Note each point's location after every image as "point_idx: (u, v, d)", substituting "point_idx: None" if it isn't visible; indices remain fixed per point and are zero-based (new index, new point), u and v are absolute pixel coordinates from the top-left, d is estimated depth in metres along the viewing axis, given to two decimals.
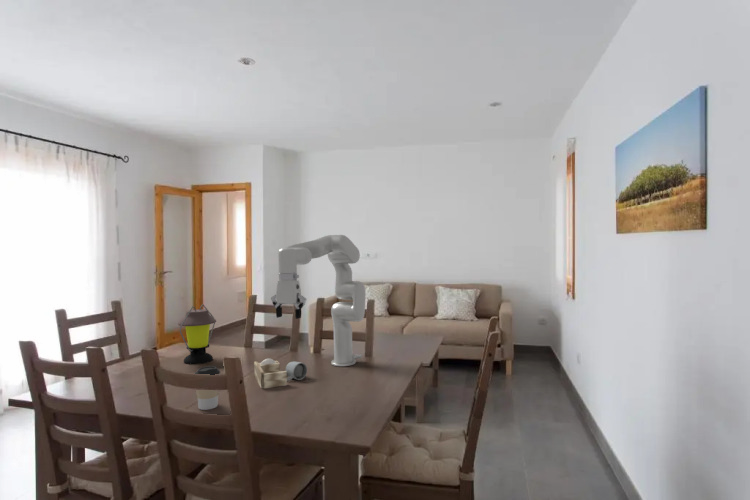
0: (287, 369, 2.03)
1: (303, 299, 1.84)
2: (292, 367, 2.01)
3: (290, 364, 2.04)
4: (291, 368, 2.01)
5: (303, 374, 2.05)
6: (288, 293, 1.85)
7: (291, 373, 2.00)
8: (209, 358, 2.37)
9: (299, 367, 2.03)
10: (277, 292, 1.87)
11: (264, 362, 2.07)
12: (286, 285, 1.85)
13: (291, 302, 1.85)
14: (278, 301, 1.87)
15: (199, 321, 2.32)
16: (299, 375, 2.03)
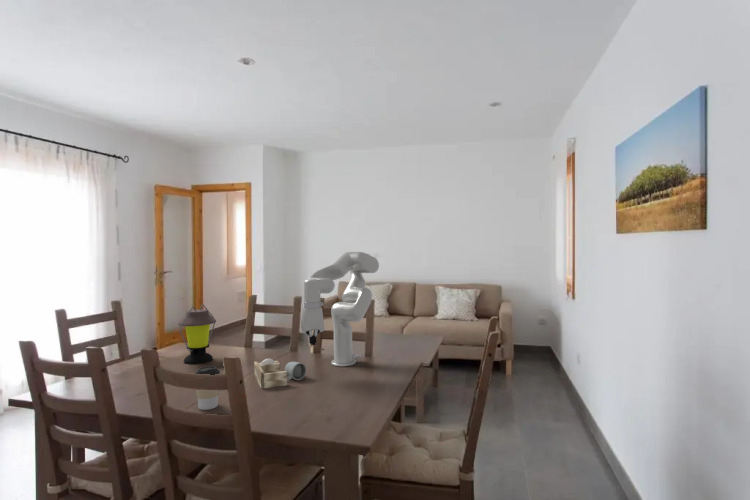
0: (286, 369, 2.03)
1: (322, 329, 2.08)
2: (291, 367, 2.01)
3: (289, 365, 2.03)
4: (290, 368, 2.01)
5: (302, 374, 2.04)
6: (317, 319, 2.05)
7: (290, 373, 2.00)
8: (209, 358, 2.37)
9: (298, 367, 2.03)
10: (305, 320, 2.03)
11: (264, 362, 2.07)
12: (315, 312, 2.05)
13: (320, 327, 2.06)
14: (306, 328, 2.03)
15: (199, 321, 2.32)
16: (298, 375, 2.03)
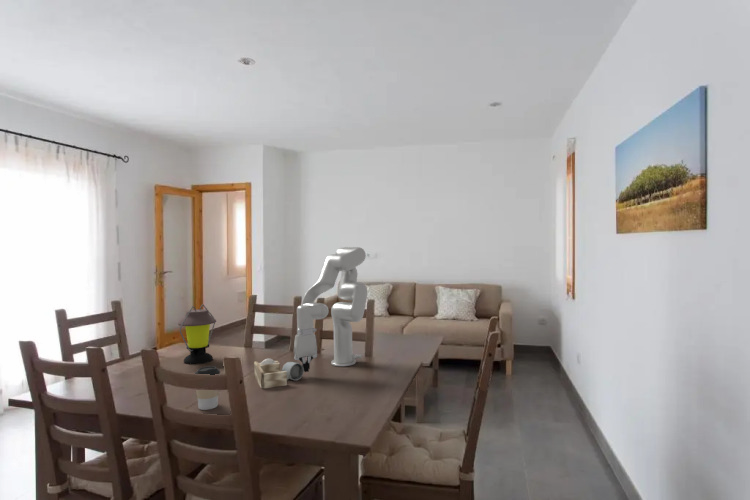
0: (283, 369, 2.02)
1: (316, 355, 2.07)
2: (289, 367, 2.00)
3: (286, 365, 2.03)
4: (287, 368, 2.00)
5: (300, 375, 2.04)
6: (310, 346, 2.04)
7: (287, 374, 1.99)
8: (209, 358, 2.37)
9: (296, 367, 2.02)
10: (298, 347, 2.02)
11: (264, 362, 2.07)
12: (308, 339, 2.04)
13: (313, 354, 2.05)
14: (299, 355, 2.02)
15: (199, 321, 2.32)
16: (295, 376, 2.02)
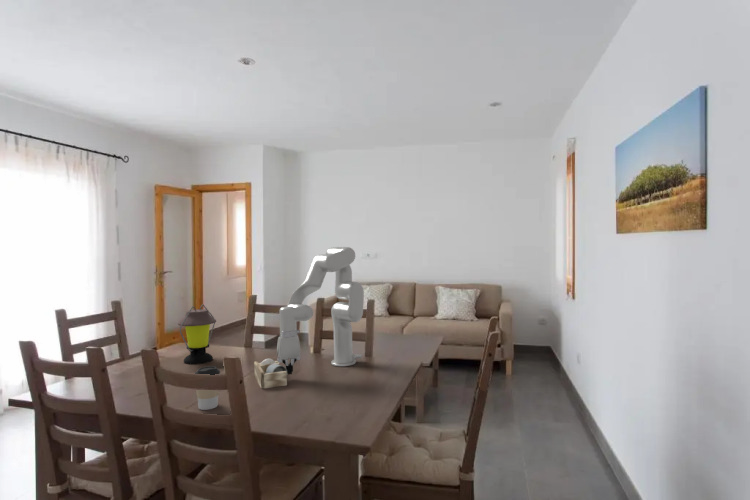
0: (267, 372, 1.99)
1: (299, 358, 2.04)
2: (271, 369, 1.97)
3: (270, 367, 2.00)
4: (270, 371, 1.97)
5: None
6: (293, 348, 2.01)
7: None
8: (209, 358, 2.37)
9: (279, 370, 1.99)
10: (281, 349, 1.99)
11: (264, 362, 2.07)
12: (291, 341, 2.01)
13: (296, 356, 2.02)
14: (282, 357, 1.99)
15: (199, 321, 2.32)
16: None
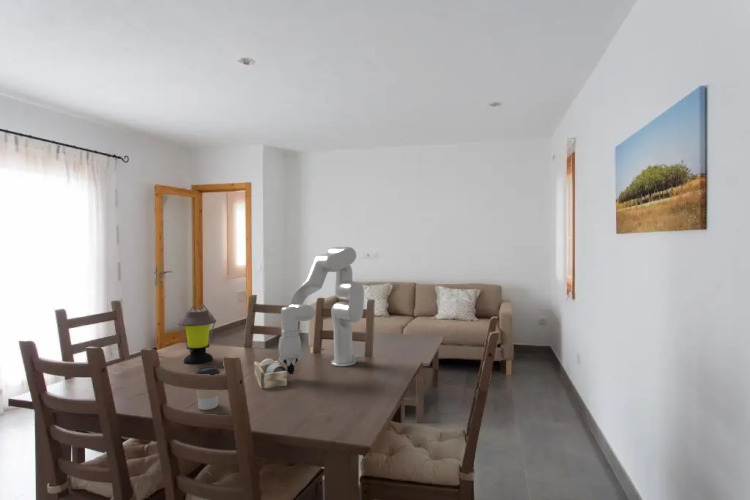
0: (267, 372, 1.99)
1: (301, 358, 2.04)
2: (272, 369, 1.97)
3: (270, 367, 2.00)
4: (270, 371, 1.97)
5: None
6: (295, 348, 2.01)
7: None
8: (209, 358, 2.37)
9: (279, 370, 1.99)
10: (282, 349, 1.99)
11: (264, 362, 2.07)
12: (293, 341, 2.01)
13: (297, 356, 2.02)
14: (283, 357, 2.00)
15: (199, 321, 2.32)
16: None
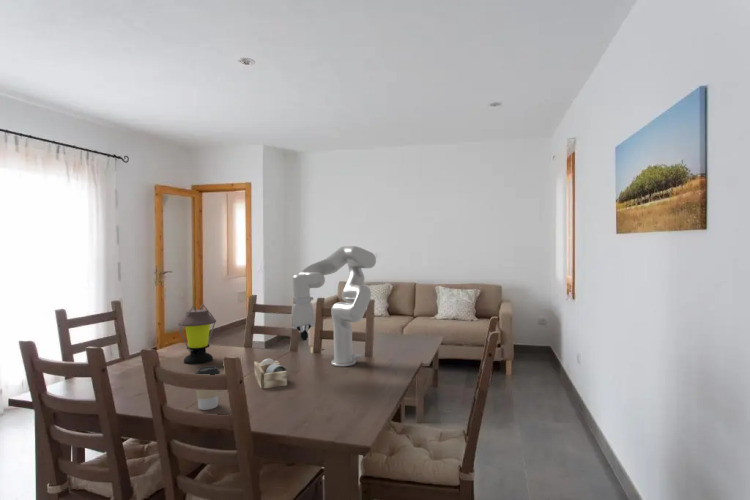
0: (267, 372, 1.99)
1: (313, 324, 2.07)
2: (272, 369, 1.97)
3: (270, 367, 2.00)
4: (270, 371, 1.97)
5: None
6: (308, 315, 2.04)
7: None
8: (209, 358, 2.37)
9: (279, 370, 1.99)
10: (295, 316, 2.02)
11: (264, 362, 2.07)
12: (305, 308, 2.03)
13: (310, 322, 2.05)
14: (296, 324, 2.02)
15: (199, 321, 2.32)
16: None
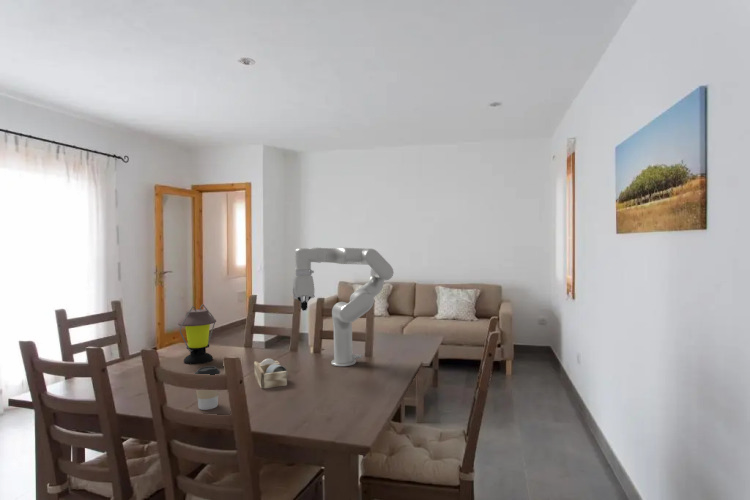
0: (267, 372, 1.99)
1: (313, 296, 2.21)
2: (272, 370, 1.97)
3: (270, 367, 2.00)
4: (270, 371, 1.97)
5: None
6: (308, 286, 2.18)
7: None
8: (209, 358, 2.37)
9: (279, 370, 1.99)
10: (296, 286, 2.16)
11: (264, 362, 2.07)
12: (306, 279, 2.18)
13: (310, 294, 2.19)
14: (297, 294, 2.16)
15: (199, 321, 2.32)
16: None
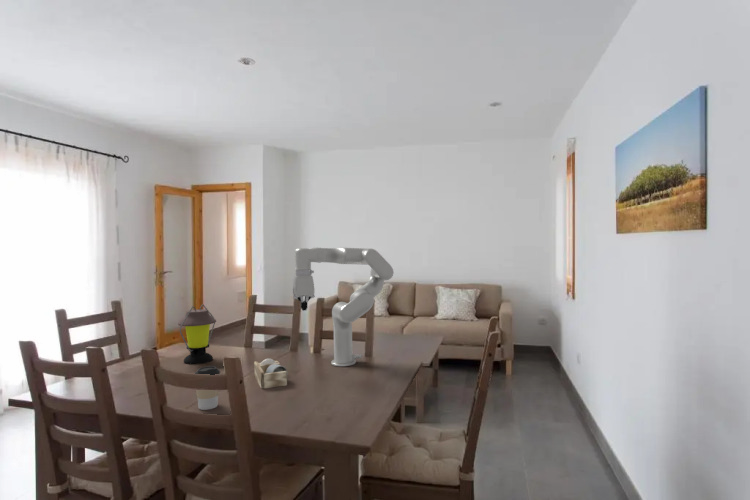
0: (267, 372, 1.99)
1: (313, 296, 2.21)
2: (272, 370, 1.97)
3: (270, 367, 2.00)
4: (270, 371, 1.97)
5: None
6: (308, 286, 2.18)
7: None
8: (209, 358, 2.37)
9: (279, 370, 1.99)
10: (296, 286, 2.16)
11: (264, 362, 2.07)
12: (306, 279, 2.18)
13: (310, 293, 2.19)
14: (297, 294, 2.16)
15: (199, 321, 2.32)
16: None
